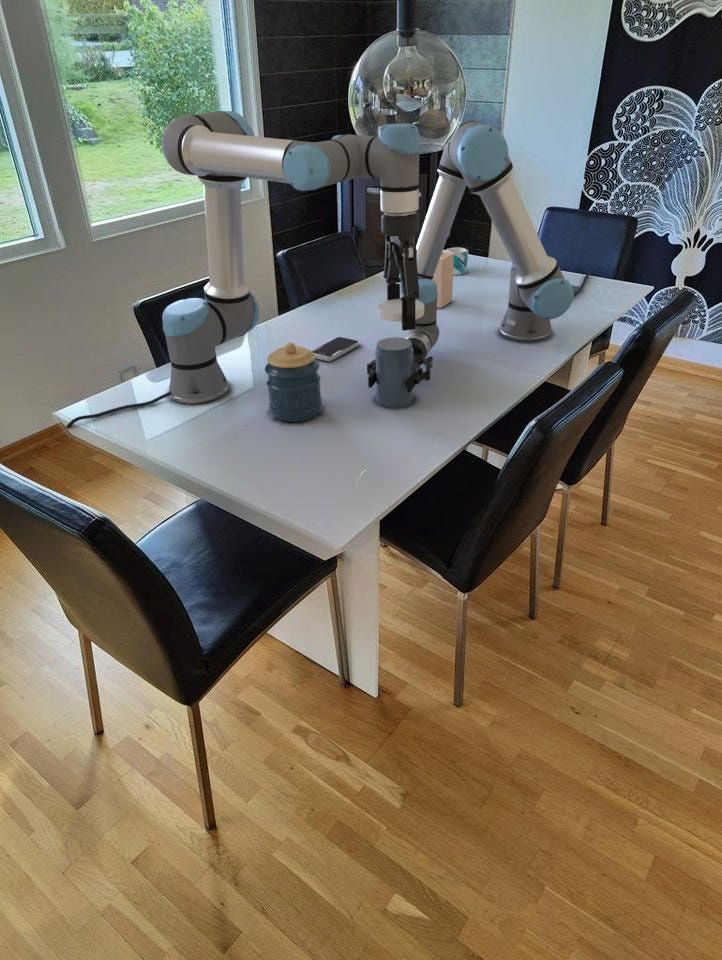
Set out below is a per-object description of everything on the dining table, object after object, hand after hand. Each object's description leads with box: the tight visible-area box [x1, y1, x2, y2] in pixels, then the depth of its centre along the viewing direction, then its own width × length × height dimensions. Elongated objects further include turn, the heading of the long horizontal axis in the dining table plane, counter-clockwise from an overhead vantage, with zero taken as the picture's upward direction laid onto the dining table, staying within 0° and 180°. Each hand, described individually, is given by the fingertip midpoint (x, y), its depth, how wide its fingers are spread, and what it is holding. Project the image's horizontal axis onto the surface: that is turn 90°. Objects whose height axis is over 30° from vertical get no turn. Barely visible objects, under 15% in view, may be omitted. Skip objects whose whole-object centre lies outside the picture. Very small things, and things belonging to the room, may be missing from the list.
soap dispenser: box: [432, 231, 454, 309], centre depth 227 cm, size 13×9×22 cm
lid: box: [377, 299, 424, 323], centre depth 143 cm, size 10×10×2 cm
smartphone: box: [311, 336, 359, 362], centre depth 198 cm, size 8×1×15 cm
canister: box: [264, 342, 323, 423], centre depth 161 cm, size 13×13×18 cm
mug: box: [445, 246, 469, 276], centre depth 261 cm, size 8×12×8 cm
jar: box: [375, 336, 414, 409], centre depth 166 cm, size 9×9×15 cm
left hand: (401, 321), depth 145 cm, fingers closed on lid, 10 cm apart
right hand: (389, 384), depth 163 cm, fingers closed on jar, 9 cm apart
